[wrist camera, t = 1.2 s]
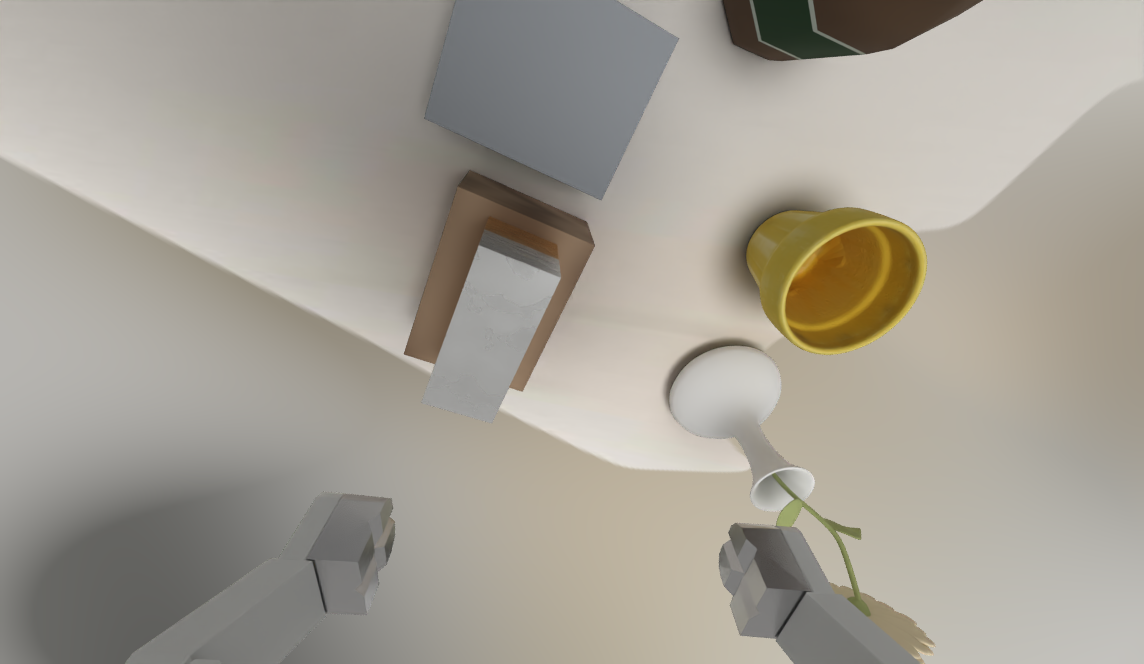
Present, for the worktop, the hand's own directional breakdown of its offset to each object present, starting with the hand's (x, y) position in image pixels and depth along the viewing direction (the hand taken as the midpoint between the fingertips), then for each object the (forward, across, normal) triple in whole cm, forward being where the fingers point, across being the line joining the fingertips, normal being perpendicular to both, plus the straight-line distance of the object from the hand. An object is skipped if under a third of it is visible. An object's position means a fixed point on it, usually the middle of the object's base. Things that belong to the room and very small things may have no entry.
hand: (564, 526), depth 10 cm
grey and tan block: (+23, +5, +5) cm, 24 cm away
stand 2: (+29, +5, +5) cm, 30 cm away
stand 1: (+29, +2, -10) cm, 30 cm away
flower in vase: (+31, -19, +16) cm, 39 cm away
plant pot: (+30, -20, 0) cm, 36 cm away
